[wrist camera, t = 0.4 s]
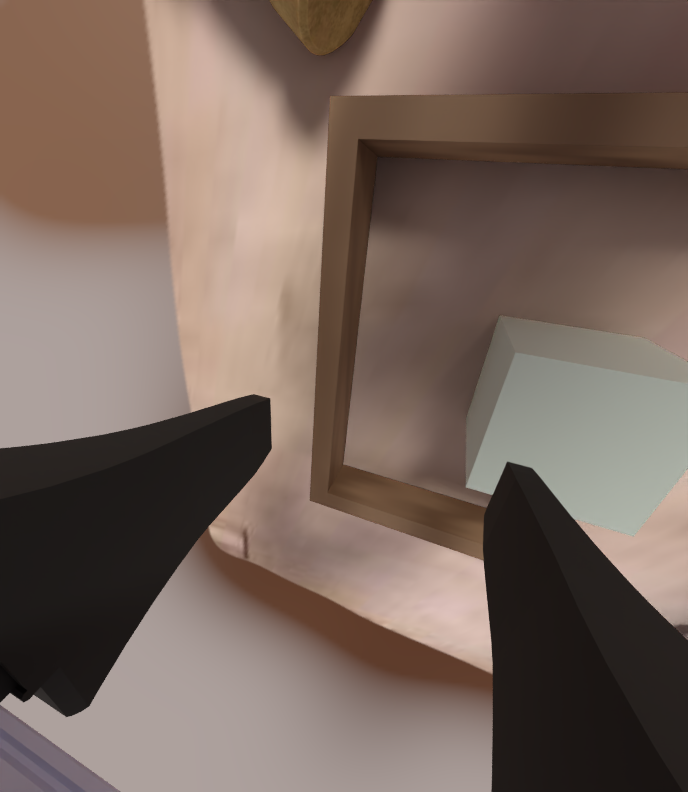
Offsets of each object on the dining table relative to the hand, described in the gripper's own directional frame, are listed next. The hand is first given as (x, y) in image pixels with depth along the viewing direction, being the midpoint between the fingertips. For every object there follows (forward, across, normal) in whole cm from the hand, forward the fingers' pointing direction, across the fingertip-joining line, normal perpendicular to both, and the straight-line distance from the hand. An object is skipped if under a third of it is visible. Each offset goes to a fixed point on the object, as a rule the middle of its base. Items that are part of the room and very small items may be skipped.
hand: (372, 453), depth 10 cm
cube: (+10, -6, 0) cm, 12 cm away
